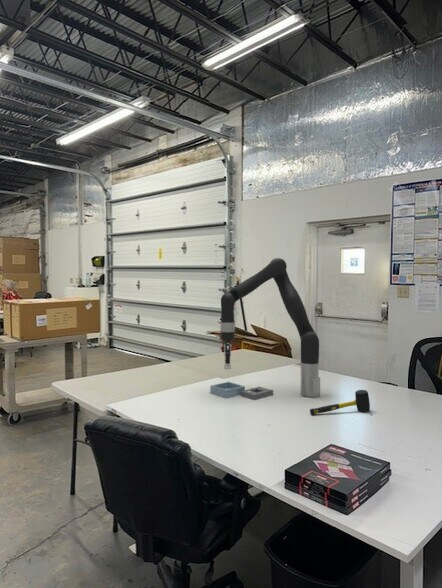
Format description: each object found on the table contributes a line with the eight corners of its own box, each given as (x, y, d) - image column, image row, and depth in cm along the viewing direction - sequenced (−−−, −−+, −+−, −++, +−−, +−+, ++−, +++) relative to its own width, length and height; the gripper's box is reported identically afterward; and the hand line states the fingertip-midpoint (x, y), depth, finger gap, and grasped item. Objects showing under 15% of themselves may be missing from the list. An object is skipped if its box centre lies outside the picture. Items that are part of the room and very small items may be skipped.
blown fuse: (232, 368, 219) (232, 351, 218) (227, 369, 216) (227, 352, 216) (227, 367, 222) (227, 350, 221) (222, 368, 219) (222, 351, 219)
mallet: (313, 417, 181) (313, 396, 181) (307, 413, 187) (307, 392, 187) (372, 412, 187) (372, 391, 187) (365, 408, 193) (365, 388, 193)
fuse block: (273, 394, 216) (273, 389, 216) (254, 400, 207) (254, 394, 207) (259, 391, 224) (259, 385, 224) (240, 395, 215) (240, 390, 215)
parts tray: (244, 393, 219) (244, 386, 219) (226, 398, 210) (226, 390, 210) (228, 388, 229) (228, 381, 228) (210, 393, 220) (210, 385, 220)
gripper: (235, 332, 211) (235, 365, 212) (233, 329, 225) (233, 360, 226) (220, 332, 211) (220, 365, 212) (220, 329, 225) (220, 360, 226)
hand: (227, 362), depth 219 cm, fingers closed on blown fuse, 3 cm apart
